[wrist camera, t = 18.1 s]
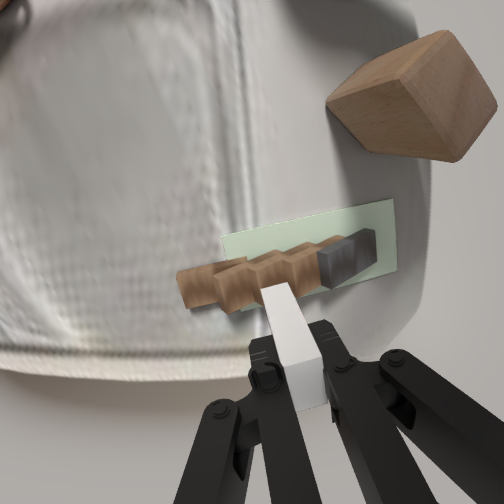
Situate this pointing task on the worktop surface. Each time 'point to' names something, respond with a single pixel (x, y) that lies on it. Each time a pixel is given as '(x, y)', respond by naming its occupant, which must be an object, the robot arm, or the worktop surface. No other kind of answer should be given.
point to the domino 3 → (305, 268)
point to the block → (417, 101)
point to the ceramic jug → (3, 4)
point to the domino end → (202, 282)
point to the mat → (322, 237)
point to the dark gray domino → (347, 258)
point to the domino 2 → (271, 271)
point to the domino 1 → (237, 284)
